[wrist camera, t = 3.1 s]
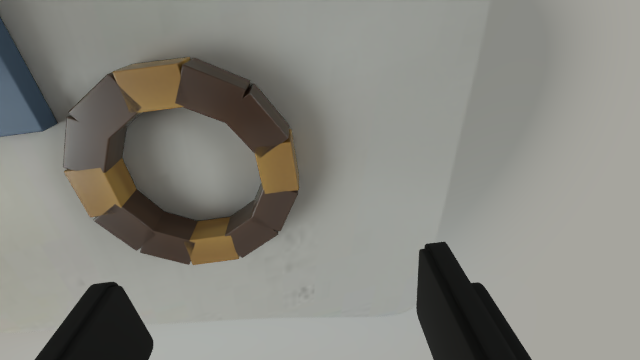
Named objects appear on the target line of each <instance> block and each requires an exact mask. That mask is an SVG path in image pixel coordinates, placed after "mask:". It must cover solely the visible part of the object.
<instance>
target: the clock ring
mask: <svg viewBox="0 0 640 360" xmlns="http://www.w3.org/2000/svg"><path fill="white" fill-rule="evenodd" d="M249 85H250V80H247V79H245V78H242V77H240V76H238V75H235V74H233V73H230V72H228V71H225V70H223V69H220V68H218V67H216V66H213V65H211V64H208V63H206V62H203V61H201V60H198V59H196V58H193V59H192V60H190V57H184V58H177V59H169V60H161V61H153V62H146V63H138V64H131V65H129V66H126V67H123V68H121V69H118V70H116V71H113V72H112V73H109V74H107V75H106V76H105V77H104V78H103V79H102V80H101V81H100V82H99V83H98V84H97V85H96V86H95V87H94V88H93V89H92V90H91V91H90V92H89V93H88V94H87V95H85V96H84V97H83V98H82V99H81V100H80V101H79V102H78V103H77V104H76V105H75V106H74V107H73V108H72V109H71V110H70V111H69V114H70V115H69V116H67V119H66V133H65V147H64V161H63V167H64V168H66V169H67V170H65V171H64V173H65V175H66V176H67V178H68V180H69V182H70V183H71V185H72V187H73V189H74V190H75V192H76V194H77V196H78V197H79V199H80V201H81V203H82V204H83V206H84V208H85V209H86V211H87V213H88V215H89V216H90V217H95V218H94V221H95V222H96V223H98V224H99V225H100V226H102V227H103V228H105V229H106V230H108V231H109V232H110V233H112V234H113V235H115V236H116V237H118V238H119V239H120V240H122V241H123V242H125V243H126V244H128V245H129V246H130V247H132V248H133V249H135V250H138V249H140V248H141V250H140V253H144V254H148V255H152V256H156V257H160V258H164V259H168V260H172V261H176V262H180V263H184V264H188V265H189V264H190V262H192V264H193V265H197V264H204V263H212V262H220V261H227V260H235V259H239V257H240V256H241V257H242V258H243V257H244V256H246V255H247V254H249V253H250V252H252V251H253V250H255V249H257V248H258V247H260V246H261V245H263V244H264V243H266V242H267V241H269V240H270V239H272V238H273V237H275V236H276V235H278V231H281V229H282V227H283V225H284V223H285V221H286V219H287V216H288V214H289V212H290V210H291V208H292V206H293V204H294V201H295V199H296V197H297V195H298V190H299V173H298V167H297V161H296V155H295V149H294V143H293V137H292V131H291V129H289V124H288V123H287V122H286V121H285V120H284V118H283V117H282V116H281V115H280V114H279V112H278V111H277V110H276V109H275V108H274V106H273V105H272V104H271V103H270V102H269V100H268V99H267V98H266V97H265V96H264V94H263V93H262V92H261V91H260V90H259V89H258V87H257V86H256V85H255V84H253V85H252V86H250V87H249ZM179 107H184V108H187V109H189V110H192V111H195V112H198V113H200V114H203V115H206V116H208V117H211V118H214V119H217V120H219V121H222V122H225V123H226V124H227V125H228V126H229V127H230V128H231V129H232V130H233V131H234V132H235V133H236V134H237V135H238V136H239V137H240V138H241V139H242V141H243V142H244V143H245V144H246V145H247V146H248V147H249V148H250V149H251V150H252V151H253V152H254V153H255V157H256V161H257V165H258V169H259V174H260V178H261V182H262V183H261V185H260V188H259V190H258V193H257V195H256V198H255V200H254V201H252V202H251V203H249V204H248V205H247V206H245V207H244V208H242V209H241V210H239V211H238V212H237V213H235V214H234V215H232V216H231V217H226V218H218V219H210V220H203V221H196V220H192V219H189V218H185V217H182V216H178V215H175V214H171V213H168V212H164V211H163V210H162V209H160V208H159V207H158V206H157V205H155V204H154V203H153V202H152V201H150V200H149V199H148V198H147V197H145V196H144V195H143V194H142V193H140V192H139V191H138V190H137V189H136V187H135V185H134V183H133V180H132V178H131V176H130V174H129V172H128V170H127V167H126V165H125V163H124V161H123V159H122V154H123V148H124V141H125V135H126V129H127V125H128V124H130V123H131V122H132V121H133V120H134V119H135V118H136V117H137V116H139V115H140V114H141V113H142V112H149V111H156V110H164V109H172V108H179Z"/></svg>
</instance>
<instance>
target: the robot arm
mask: <svg viewBox="0 0 640 360" xmlns="http://www.w3.org/2000/svg"><path fill="white" fill-rule="evenodd" d="M417 315H418V318H419V321H420V324H421V327H422V329H423V332H424V335H425V337H426V340H427V343H428V345H429V348H430V351H431V353H432V356H433V359H434V360H532V359H531V358H530V356H529V355H528V353H527V352H526V350H525V349H524V347H523V346H522V344H521V343H520V341H519V339H518V338H517V336H516V335H515V333H514V332H513V330H512V329H511V327H510V325H509V324H508V322H507V321H506V319H505V318H504V316H503V315H502V313H501V312H500V310H499V308H498V307H497V305H496V304H495V302H494V301H493V299H492V298H491V296H490V295H489V293H488V291H487V290H486V289H485V287H484V286H483V285H482V284H480V283H470V281H469V279H468V278H467V276H466V275H465V273H464V271H463V270H462V268H461V266H460V265H459V263H458V261H457V260H456V258H455V257H454V255H453V253H452V252H451V250H450V248H449V247H448V245H447V244H446V243H445V242H438V243H430V244H426V245H425V249H421V250H420V251H419V268H418V288H417ZM152 349H153V339H152V337H151V335H150V334H149V332H148V330H147V329H146V327H145V325H144V323H143V322H142V320H141V318H140V316H139V315H138V313H137V311H136V310H135V308H134V306H133V304H132V303H131V301H130V299H129V297H128V296H127V294H126V292H125V291H124V289H123V288H122V287H121V286H118V284H117V283H115V282H107V283H99V284H93V285H91V286H90V287H89V288H88V290H87V291H86V292H85V294H84V295H83V296H82V298H81V299H80V300H79V302H78V303H77V304H76V306H75V307H74V308H73V310H72V311H71V312H70V314H69V315H68V316H67V317H66V319H65V320H64V321H63V323H62V324H61V325H60V327H59V328H58V329H57V331H56V332H55V333H54V335H53V336H52V338H51V339H50V340H49V342H48V343H47V344H46V345H45V347H44V348H43V350H42V351H41V352H40V353H39V355H38V356H37V357H36V359H35V360H148V359H149V357H150V355H151V352H152Z"/></svg>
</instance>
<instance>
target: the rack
mask: <svg viewBox="0 0 640 360" xmlns="http://www.w3.org/2000/svg"><path fill="white" fill-rule="evenodd" d="M56 124H57V121H56V119H55V117H54V116H53V114H52V112H51V110H50V108H49V106H48V105H47V103H46V101H45V99H44V97H43V95H42V93H41V92H40V90H39V88H38V86H37V84H36V82H35V81H34V79H33V77H32V75H31V73H30V71H29V69H28V68H27V66H26V64H25V62H24V60H23V58H22V56H21V55H20V53H19V51H18V49H17V47H16V45H15V44H14V42H13V40H12V38H11V36H10V34H9V32H8V31H7V29H6V27H5V25H4V23H3V21H2V19H1V18H0V137H2V136H10V135H17V134H25V133H33V132H40V131H44V130H46V129H48V128H50V127H52V126H54V125H56Z"/></svg>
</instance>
